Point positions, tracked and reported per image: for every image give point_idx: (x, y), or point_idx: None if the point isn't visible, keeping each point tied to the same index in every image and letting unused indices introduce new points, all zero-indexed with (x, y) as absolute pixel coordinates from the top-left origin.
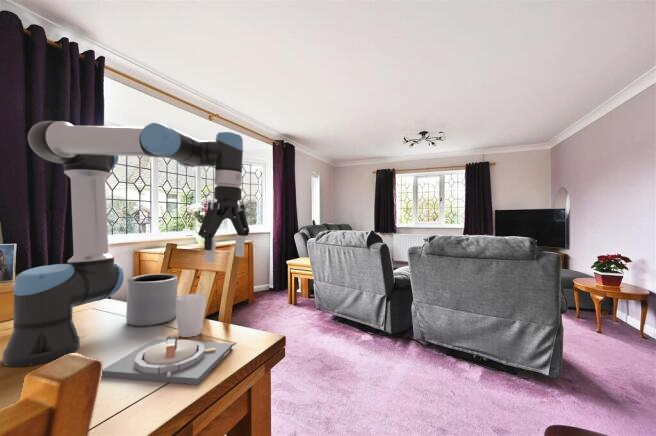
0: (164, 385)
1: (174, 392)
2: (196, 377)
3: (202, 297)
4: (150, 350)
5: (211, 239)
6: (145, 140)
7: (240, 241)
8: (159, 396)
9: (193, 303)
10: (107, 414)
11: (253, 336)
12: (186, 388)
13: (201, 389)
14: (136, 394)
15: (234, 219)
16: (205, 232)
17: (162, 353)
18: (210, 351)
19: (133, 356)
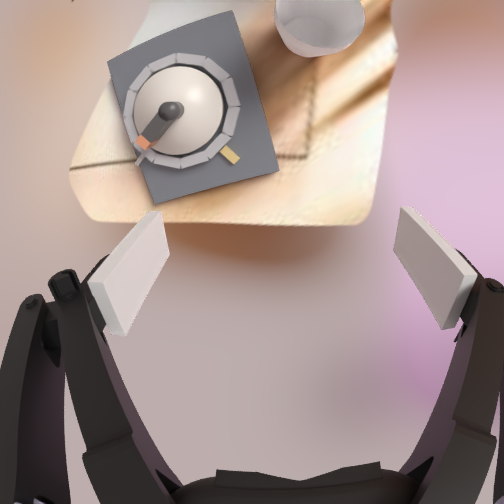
0: None
1: (133, 187)
2: (155, 201)
3: (362, 24)
4: (154, 83)
5: (105, 318)
6: None
7: (432, 286)
8: (119, 178)
9: (294, 40)
10: (78, 160)
11: (349, 173)
12: (146, 193)
13: None
14: (108, 148)
15: (419, 452)
16: (43, 346)
17: (155, 113)
18: (227, 158)
19: (155, 50)
